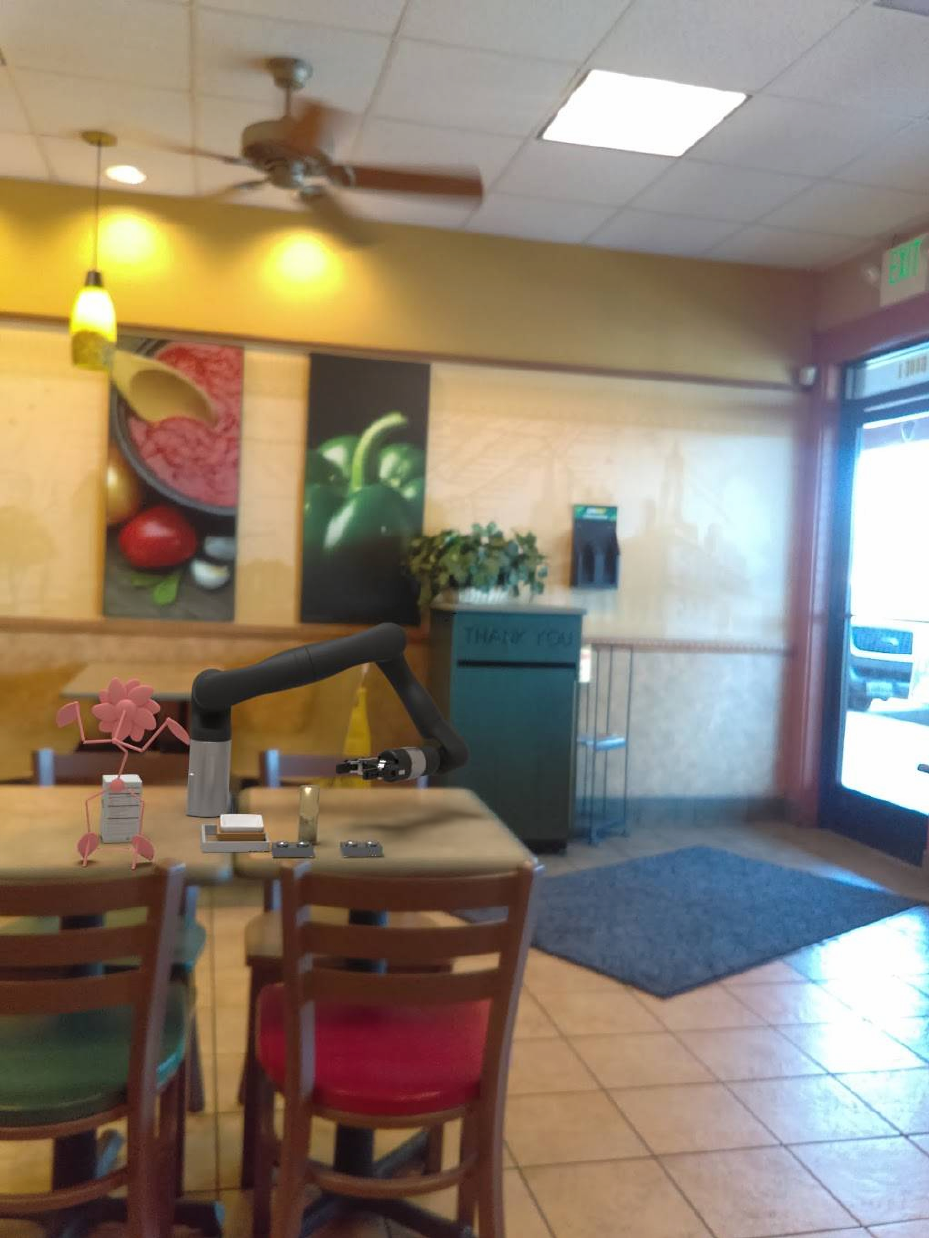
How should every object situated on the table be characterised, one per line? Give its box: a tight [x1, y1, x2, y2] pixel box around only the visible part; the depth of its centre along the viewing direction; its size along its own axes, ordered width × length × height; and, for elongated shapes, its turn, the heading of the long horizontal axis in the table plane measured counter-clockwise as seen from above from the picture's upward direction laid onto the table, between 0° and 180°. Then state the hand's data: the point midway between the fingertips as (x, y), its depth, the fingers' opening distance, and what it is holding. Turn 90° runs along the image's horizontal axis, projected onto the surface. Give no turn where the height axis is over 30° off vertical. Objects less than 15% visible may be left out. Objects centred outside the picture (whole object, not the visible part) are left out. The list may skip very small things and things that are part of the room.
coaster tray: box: [200, 823, 270, 853], centre depth 221 cm, size 13×15×2 cm
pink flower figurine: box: [55, 677, 191, 870], centre depth 204 cm, size 15×26×35 cm, turn 91°
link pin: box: [297, 784, 320, 846], centre depth 224 cm, size 4×4×12 cm
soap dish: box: [216, 813, 267, 842], centre depth 221 cm, size 12×10×5 cm
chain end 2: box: [339, 839, 383, 857], centre depth 218 cm, size 8×4×3 cm, turn 105°
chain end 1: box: [270, 840, 315, 858], centre depth 214 cm, size 8×4×3 cm, turn 105°
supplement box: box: [99, 774, 143, 844], centre depth 219 cm, size 7×7×13 cm
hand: (350, 772), depth 232 cm, fingers open, 8 cm apart
